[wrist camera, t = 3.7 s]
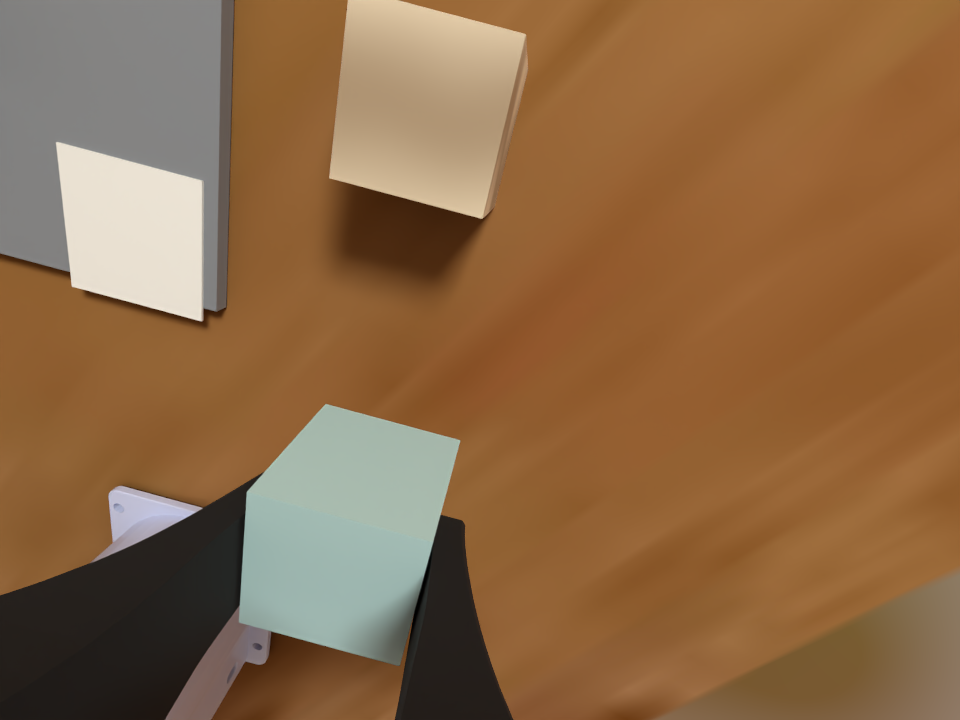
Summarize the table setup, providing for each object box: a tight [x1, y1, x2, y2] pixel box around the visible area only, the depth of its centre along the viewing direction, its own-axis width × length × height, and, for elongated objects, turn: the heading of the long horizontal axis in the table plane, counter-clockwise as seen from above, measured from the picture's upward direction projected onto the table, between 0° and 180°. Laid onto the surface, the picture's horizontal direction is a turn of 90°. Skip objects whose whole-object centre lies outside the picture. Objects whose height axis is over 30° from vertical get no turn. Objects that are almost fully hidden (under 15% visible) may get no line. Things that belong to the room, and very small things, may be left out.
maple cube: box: [329, 0, 528, 219], centre depth 13 cm, size 4×4×4 cm
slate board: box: [0, 0, 234, 321], centre depth 15 cm, size 12×14×1 cm
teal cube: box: [239, 404, 460, 666], centre depth 12 cm, size 4×4×4 cm
